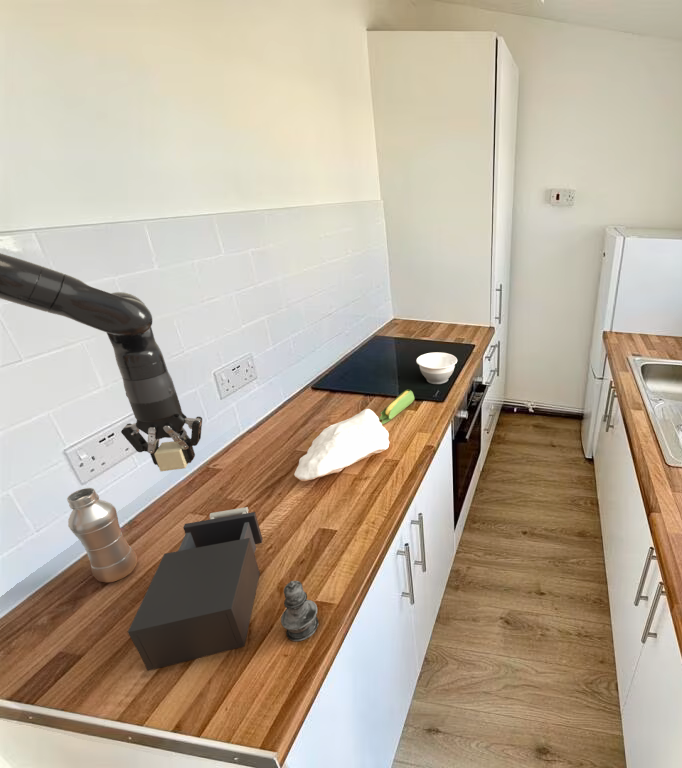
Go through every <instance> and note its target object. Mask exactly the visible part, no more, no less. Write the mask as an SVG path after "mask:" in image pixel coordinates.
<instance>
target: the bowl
mask: <svg viewBox="0 0 682 768" xmlns="http://www.w3.org/2000/svg"><path fill="white" fill-rule="evenodd" d="M415 362H416V364H417V365H418V366H419V370H420V373H421V374H422V376H424V378H425V380H426V382H427V383H429V384H433V385H442V384H445V383H447V382H448V381H449V378H450V377H451V376H452V375H453V373H454V370H455V367H456V364H457V363H458V358H457V357H456V356H455V355H453V354H451V353H447V352H440V351H439V352H438V351H437V352H428V353H424V354H421V355H419V356H418V357H417V358H416V361H415Z"/></svg>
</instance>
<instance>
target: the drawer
mask: <svg viewBox="0 0 682 768" xmlns="http://www.w3.org/2000/svg"><path fill="white" fill-rule="evenodd" d="M182 529H183V532H184V537H183V538H182V541H181V543H180V545H179V547H178V550H177V551H182V550H187V549H192V548H198V547H203V546H209V545H214V544H219V543H225V542H230V541H236V540H241V539H246V538H250V542H251V545H252V548H253V552H254V555H255V554H256V550H257V546H256V545H260V544H262V543H263V539H264V538H263V536H262V532H261V528H260V525H259V521H258V516H257V513H256V511H252V512H249V507H248V506H245V507H238V508H233V509H227V510H220V511H215V512H210V513H209V519H205V520H198V521H193V522H187V523H184V525H183V527H182ZM255 556H256V555H255Z"/></svg>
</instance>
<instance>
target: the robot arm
mask: <svg viewBox="0 0 682 768" xmlns="http://www.w3.org/2000/svg"><path fill="white" fill-rule="evenodd" d="M0 299H1V300H5V301H7V302H11V303H12V304H13V303H14V304H17V305H21V306H24V307H26V308H27V307H28V308H31V309H34V310H38V311H42V312H45V313H49V314H53V315H56V316H60V317H65V318H67V319H71V320H73V321H75V322H78V323H80V324H83V325H86V326H88V327H90V328H93V329H96V330H98V331H102V332H104V333H106V335H107V337H108V340H109V341H110V344H111V346H112V348H113V353H114V357H115V361H116V366H117V367H118V370H119V373H120V376H121V379H122V382H123V383H122V384H123V388H124V391H125V395H126V398H127V399H128V402H129V405H130V407H131V411H132V413H133V416H134V418H135V419H136V422H134V423H126V424H125V425H124V427H123V428H122V429H121V431H120V433H121V434H122V435H123V437H124V438H125V439H126V440H127V441H128V443H129V444H130V445H131V446H132V447H133V449H134V450H135V451H136V452H138V453H143V452H145V453H146V452H147V453H148V454H150V458H151V460H152V463H153V464H154V465H155V466H157V468H159V466H158V463H157V461H156V458H155V455H154V454H155V452H156V451H157V449H158V448H159V446H160V440H161V439H165V438H166V439H172V440H173V441H175V442H176V443H178V444H179V445H180V446H181V447H182V452H183V455H184V458H185V461H186V463H188V464H191V463H192V461H193V460H194V459H195V457H196V454H195V450H194V447H195V446H197V445H198V444H199V442H200V441H201V438H202V437H201V436H202V427H203V417H201V416H196V417H187V416H186V415H185V414H184V413H183V410H182V406H181V403H180V400H179V397H178V393H177V390H176V387H175V384H174V381H173V378H172V376H171V373H170V372H169V370H168V367H167V364H166V361H165V357H164V355H163V352H162V350H161V348H160V346H159V344H158V343H157V341H156V338H155V335H154V331H153V328H152V326H153V314H152V313H151V310H150V309H149V308H148V306H147V305H146V303H144V301H142V300H141V299H140V298H139V297H138V296H136V295H134V294H132V293H128V292H123V291H118V292H117V291H116V292H108V291H105V290H102V289H99V288H96V287H93V286H91V285H89V284H87V283H85V282H84V281H82V280H80V279H79V278H76V277H74V276H72V275H68V274H66V273H63V272H60V271H58V270H54V269H52V268H48V267H46V266H42V265H40V264H36V263H34V262H32V261H27V260H24V259H21V258H18V257H15V256H11V255H8V254H4V253H1V252H0ZM185 424H186V425H187V426H188V429H190V430H191V433H190V434H191V435H190V436H191V437H190V436H189V435H188V433H187V430H186V429H185V428H184V426H185ZM140 431H141V432H142V433H144V434H145V435H147V440H146V439H145V437H144V436H143V435H142V434H141V433H140Z"/></svg>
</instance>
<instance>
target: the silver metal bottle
mask: <svg viewBox="0 0 682 768" xmlns="http://www.w3.org/2000/svg"><path fill="white" fill-rule="evenodd" d="M66 500H67V503H68V504H69V508H70V509H71V510H72V511H71V513H70V514H69V517H68V520H67V523H68V525H67V526H68V528H69V530H70V531H71V532H72V533H73V535H74V536H75V537H76V539H78V541H79V542H80V543H81V545H82V547H83V548H84V550H85V552H86V555H87V558H88V560H89V563H90V569H91V574H92V576H93V578H95V580H96V581H98V582H101V583H108V584H109V583H113V582H117V581H120V580H122V579H124V578H125V577H127V576H128V575H130V574H131V573H133V571H134V569H135V568H136V566H137V564H138V556H137V553H136V551H135V549H133V548H132V546H130V544H129V543H128V541H127V539H126V538H125V535H123V532H122V529H121V526H120V523H119V518H118V513H117V509H116V507H115V505H113V503H111V502H109V501H106V500H103V499H100V495H99V494H98V493H97V491H96V489H94V488H93V487H85V488H80V489H78V490H76V491H73V492H71V494H69V495H68V496H67V498H66Z"/></svg>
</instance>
